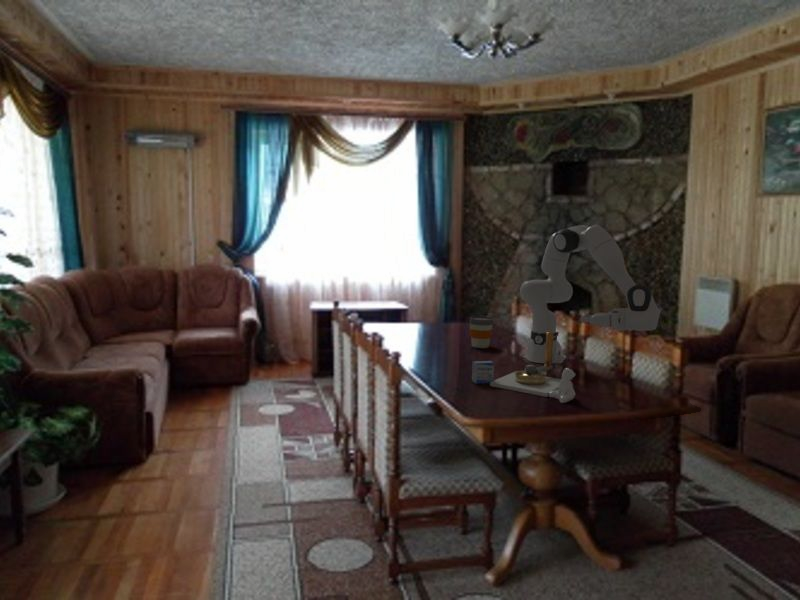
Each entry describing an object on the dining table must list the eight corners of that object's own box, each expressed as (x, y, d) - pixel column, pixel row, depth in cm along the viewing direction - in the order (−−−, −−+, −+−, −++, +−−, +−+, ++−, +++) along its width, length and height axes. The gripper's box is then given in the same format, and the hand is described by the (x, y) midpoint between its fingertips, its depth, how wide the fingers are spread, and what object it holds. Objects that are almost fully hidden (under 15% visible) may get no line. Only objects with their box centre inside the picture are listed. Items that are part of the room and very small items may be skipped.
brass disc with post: (535, 386, 240) (538, 340, 237) (509, 380, 248) (511, 336, 245) (562, 377, 255) (564, 334, 253) (536, 372, 264) (539, 330, 261)
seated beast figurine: (546, 396, 233) (548, 365, 231) (565, 394, 236) (567, 364, 234) (561, 403, 224) (563, 371, 222) (581, 401, 227) (583, 370, 226)
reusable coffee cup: (486, 349, 316) (487, 321, 314) (464, 346, 322) (465, 318, 320) (495, 345, 326) (497, 318, 324) (474, 342, 333) (475, 315, 331)
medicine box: (475, 384, 248) (476, 363, 247) (471, 381, 252) (472, 360, 251) (493, 383, 250) (494, 362, 249) (489, 380, 254) (489, 360, 253)
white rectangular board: (515, 374, 265) (516, 356, 264) (569, 384, 251) (570, 365, 250) (489, 385, 246) (490, 366, 245) (546, 397, 232) (547, 376, 231)
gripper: (619, 309, 255) (585, 309, 260) (615, 313, 236) (578, 312, 242) (619, 324, 255) (585, 323, 261) (615, 329, 236) (578, 328, 242)
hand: (581, 318), depth 251 cm, fingers open, 8 cm apart
